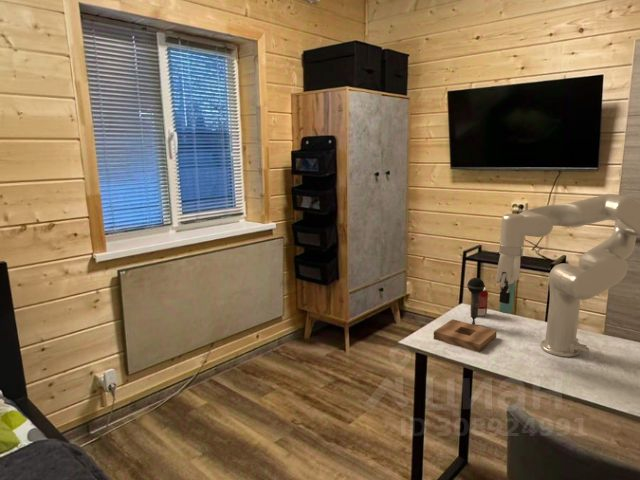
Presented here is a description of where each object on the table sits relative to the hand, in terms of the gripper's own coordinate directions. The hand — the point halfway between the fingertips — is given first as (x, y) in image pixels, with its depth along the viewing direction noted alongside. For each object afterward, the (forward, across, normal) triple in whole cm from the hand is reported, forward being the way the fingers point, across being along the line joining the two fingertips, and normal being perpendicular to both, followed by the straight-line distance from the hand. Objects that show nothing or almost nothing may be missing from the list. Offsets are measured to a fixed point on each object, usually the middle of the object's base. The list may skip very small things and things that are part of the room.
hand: (506, 300), depth 158 cm
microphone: (+20, -17, -18) cm, 32 cm away
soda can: (+20, -29, -21) cm, 41 cm away
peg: (+4, 0, 0) cm, 4 cm away
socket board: (+19, -2, -15) cm, 25 cm away
